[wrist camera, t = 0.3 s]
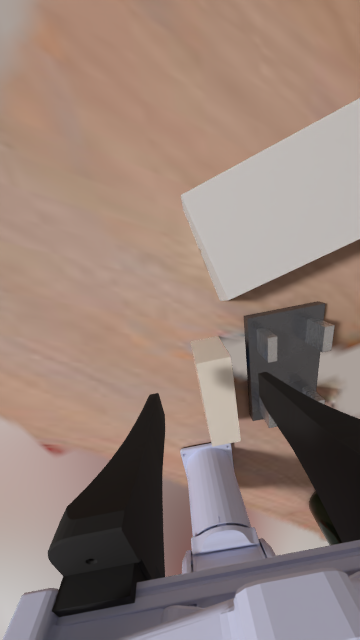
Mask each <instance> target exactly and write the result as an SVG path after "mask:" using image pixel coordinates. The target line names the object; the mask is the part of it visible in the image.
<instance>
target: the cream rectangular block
mask: <svg viewBox="0 0 360 640" xmlns="http://www.w3.org/2000/svg"><path fill="white" fill-rule="evenodd" d="M190 343H191V348H192V353H193V358H194V363H195V368H196V373H197V378H198V383H199V388H200V393H201V398H202V403H203V408H204V413H205V417H206V422H207V426H208V430H209V435H210V439H211V443H212V447H214V446H219V445H224V444H229V443H234V442H238V441H241V439H240V430H239V422H238V413H237V404H236V395H235V387H234V378H233V369H232V361H231V356H230V354H229V353H228V351H227V349H226V348H225V346H224V345H223V343H222V342H221V340H220V338H219V337H218V336H216V337H211V338H206V339H201V340H197V341H192V342H190Z"/></svg>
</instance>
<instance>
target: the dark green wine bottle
mask: <svg viewBox="0 0 360 640" xmlns="http://www.w3.org/2000/svg"><path fill="white" fill-rule="evenodd" d="M309 508H310V511H311V513H312V515H313V517H314V518H315V520H316V522H317V524H318V526H319V527H320V529H321V531H322V533H323V534H324V536H325V538H326V540H327V542H328V543H329V545H335V544H341V543H342V541H341V539H340V537H339V535H338V533H337V531H336V529H335V527H334V525H333V523H332V521H331V519H330V517H329V515H328V513H327V511H326V509H325V507H324V505H323V503H322V502H321V500H320V498H319V496H318V494H317V492H315V493H314V494H313V495H312V497H311V499H310V502H309Z"/></svg>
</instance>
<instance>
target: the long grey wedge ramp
mask: <svg viewBox="0 0 360 640" xmlns="http://www.w3.org/2000/svg"><path fill="white" fill-rule="evenodd" d="M181 199H182V205H183V210H184V213H185V215H186V218H187V220H188V222H189V225H190V227H191V230H192V232H193V235H194V237H195V240H196V242H197V245H198V247H199V249H201V251H202V253H201V254H202V257H203V259H204V261H205V264H206V266H207V269H208V271H209V274H210V277H211V279H212V282H213V284H214V287H215V289H216V292H217V294H218V297H219V299H220V301H226V300H230V299H232V298H235V297H237V296H239V295H241V294H243V293H245V292H247V291H250V290H252V289H254V288H256V287H258V286H260V285H262V284H265V283H267V282H269V281H271V280H273V279H275V278H277V277H279V276H282V275H284V274H286V273H288V272H290V271H292V270H294V269H297V268H299V267H301V266H303V265H305V264H307V263H309V262H312V261H314V260H316V259H318V258H320V257H322V256H324V255H327V254H329V253H331V252H333V251H335V250H337V249H339V248H341V247H344V246H346V245H348V244H350V243H352V242H354V241H356V240H359V239H360V98H359V99H357V100H355V101H353V102H352V103H350V104H348V105H346V106H344V107H342V108H341V109H339V110H337V111H335V112H333V113H331V114H329V115H328V116H326V117H324V118H322V119H320V120H318V121H317V122H315V123H313V124H311V125H309V126H307V127H306V128H304V129H302V130H300V131H298V132H296V133H294V134H293V135H291V136H289V137H287V138H285V139H283V140H282V141H280V142H278V143H276V144H274V145H272V146H271V147H269V148H267V149H265V150H263V151H261V152H259V153H258V154H256V155H254V156H252V157H250V158H248V159H247V160H245V161H243V162H241V163H239V164H237V165H236V166H234V167H232V168H230V169H228V170H226V171H224V172H223V173H221V174H219V175H217V176H215V177H213V178H212V179H210V180H208V181H206V182H204V183H202V184H201V185H199V186H197V187H195V188H193V189H191V190H189V191H188V192H186V193H184V194H182V195H181Z"/></svg>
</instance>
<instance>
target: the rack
mask: <svg viewBox="0 0 360 640" xmlns="http://www.w3.org/2000/svg"><path fill="white" fill-rule="evenodd" d="M324 310H325V303H322V302H313V303H308V304H303V305H298V306H293V307H287V308H282V309H277V310H272V311H267V312H262V313H257V314H252V315H247V316H244V328H245V344H246V359H247V375H248V391H249V407H250V416H251V418H252V420H253V421H255V420H260V419H264V420H265V422H266V424H267V425H268V427H269V428H272V427H277V425H276V423H275V422H274V420H273V419H272V417H271V416H270V414H269V413H268V411H267V410H266V408H265V406H264V404H263V402H262V400H261V398H260V397H259V379H258V373H263V372H268V373H270V374H271V375H273V376H275V377H276V378H278V379H279V380H281V381H283V382H284V383H286V384H287V385H289V386H291V387H292V388H294V389H296V390H298V391H299V392H301V393H303V394H305V395H307V396H309V397H310V398H312V399H314V400H316V401H318V402H320V403H322V404H324V403H325V399H324V398H322V397H321V396H320V395H319V394H318V393H317V392H316V387H317V377H318V368H319V358H320V351H321V352H326V351H331V349H332V341H333V333H334V326H335V325H333V324H330V323H328V322H325V321H323V320H324Z"/></svg>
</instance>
